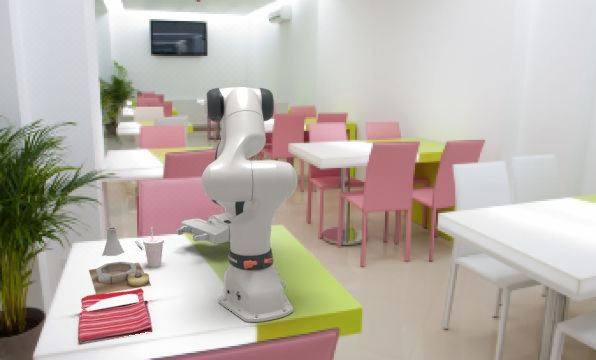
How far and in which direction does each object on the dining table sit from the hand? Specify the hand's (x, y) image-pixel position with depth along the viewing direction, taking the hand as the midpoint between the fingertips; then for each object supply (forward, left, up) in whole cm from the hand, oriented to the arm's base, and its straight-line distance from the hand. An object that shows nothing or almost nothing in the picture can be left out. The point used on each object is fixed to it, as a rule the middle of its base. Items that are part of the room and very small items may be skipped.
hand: (185, 235), depth 170 cm
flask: (+13, +22, -8) cm, 27 cm away
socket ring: (-9, +24, -7) cm, 26 cm away
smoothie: (-4, +11, -8) cm, 15 cm away
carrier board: (-10, +23, -8) cm, 26 cm away
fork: (+17, +12, -9) cm, 22 cm away
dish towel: (-33, +28, -9) cm, 44 cm away
